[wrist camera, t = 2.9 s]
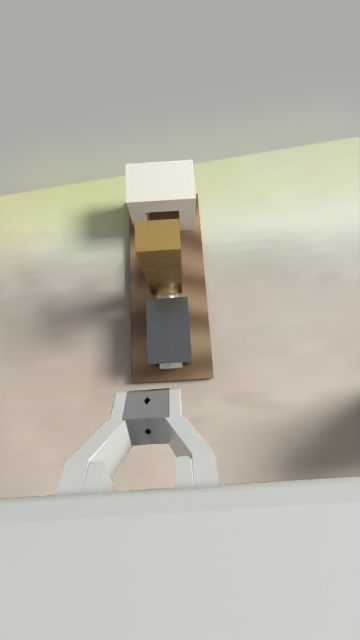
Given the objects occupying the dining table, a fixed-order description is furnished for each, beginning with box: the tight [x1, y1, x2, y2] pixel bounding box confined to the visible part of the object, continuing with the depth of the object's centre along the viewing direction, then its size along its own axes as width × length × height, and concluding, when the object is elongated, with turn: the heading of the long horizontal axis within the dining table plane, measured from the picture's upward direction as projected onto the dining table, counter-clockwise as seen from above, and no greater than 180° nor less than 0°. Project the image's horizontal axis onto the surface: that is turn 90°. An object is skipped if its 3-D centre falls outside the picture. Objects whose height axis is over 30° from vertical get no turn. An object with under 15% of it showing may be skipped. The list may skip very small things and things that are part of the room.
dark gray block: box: [146, 297, 192, 367], centre depth 33 cm, size 8×5×5 cm, turn 3°
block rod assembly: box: [135, 219, 183, 369], centre depth 29 cm, size 18×4×14 cm, turn 3°
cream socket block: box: [126, 160, 196, 231], centre depth 37 cm, size 6×9×7 cm, turn 93°
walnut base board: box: [130, 194, 214, 383], centre depth 38 cm, size 29×11×1 cm, turn 3°
